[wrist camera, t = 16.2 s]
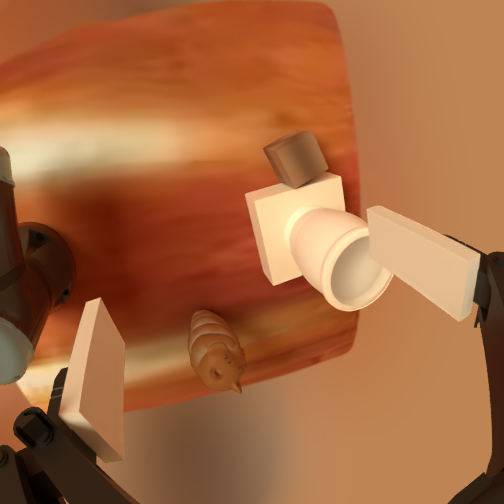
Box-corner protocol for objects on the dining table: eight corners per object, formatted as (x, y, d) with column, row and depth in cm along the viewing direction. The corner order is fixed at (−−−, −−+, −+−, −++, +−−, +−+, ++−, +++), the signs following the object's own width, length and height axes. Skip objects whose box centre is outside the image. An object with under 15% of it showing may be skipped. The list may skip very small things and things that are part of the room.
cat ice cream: (236, 311, 57) (269, 381, 41) (206, 341, 57) (229, 414, 41) (198, 284, 53) (220, 353, 37) (168, 316, 53) (179, 392, 37)
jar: (296, 185, 46) (353, 212, 32) (348, 213, 50) (410, 246, 36) (264, 251, 48) (306, 300, 35) (318, 271, 52) (369, 320, 39)
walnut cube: (279, 181, 50) (294, 188, 45) (262, 148, 47) (276, 151, 42) (310, 163, 50) (328, 168, 45) (295, 130, 48) (312, 131, 42)
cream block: (263, 272, 55) (273, 285, 51) (244, 193, 49) (254, 201, 45) (335, 246, 58) (350, 257, 53) (325, 171, 52) (340, 176, 47)
